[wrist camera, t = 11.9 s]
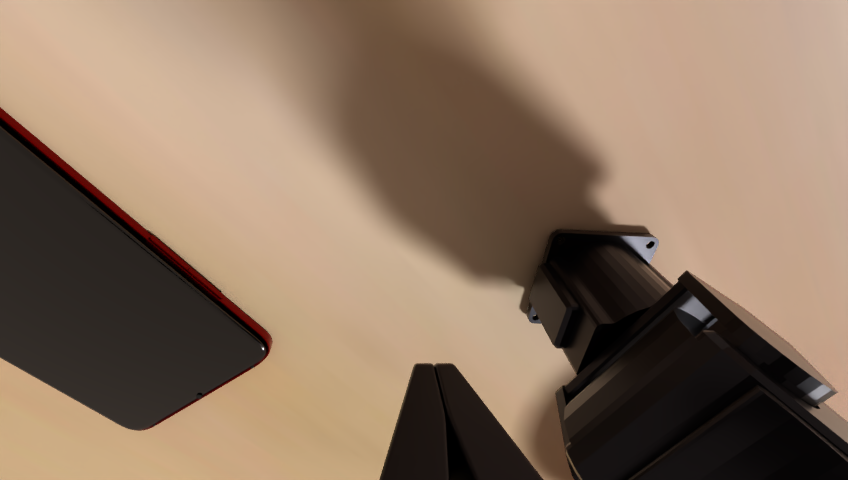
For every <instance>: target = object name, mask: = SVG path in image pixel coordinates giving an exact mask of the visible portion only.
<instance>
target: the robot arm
mask: <svg viewBox="0 0 848 480" xmlns="http://www.w3.org/2000/svg"><path fill="white" fill-rule="evenodd" d="M559 237H562V239H561V240H560V241H557V239H558V238H559ZM648 242H650V243H649V244H647V243H648ZM646 244H647V245H646ZM658 244H659V241H658V239H657V238H656V237H654V236H653V235H651V234H640V233H620V232H601V231H581V230H562V229H560V230H556V231H554V232H553V233H552V234H551V235H550V238H549V241H548V244H547V247H546V251H545V254H544V257H543V261H542V263H541V264H540V265H539V266H538V269H537V273H536V276H535V279H534V283H533V286H532V289H531V293H530V296H529V301H530V304H529V307H528V310H527V317H528V319H529V321H530V322H531V323H542V325H543V327H544V329H545V331H546V332H547V334H548V336H549V338H550V340H551V342H552V344H553V345H554V346H555V347H556V348H562V349H563V351H564V353H565V355H566V356H567V358H568V360H569V362H570V364H571V365H572V367H573V369H574V371H575V373H576V374H577V376H576V377H574V378H573V379H572V380H571V381H570V382H569V383H568V384H567V385H566V386H562V387H561V388H560V389H559V390H557V391H556V393H555V394H556V399H557V405H558V411H559V417H560V422H561V428H562V434H563V440H564V445H565V451H566V457H567V460H568V464H569V467H570V469H571V473H572V476H573V478H574V479H575V480H848V422H847V421H846V420H845V419H843V418H842V417H841V416H840V415H839V414H837V413H836V412H835V411H834V410H832V409H831V408H830V407H829V406H828V405H826V404H825V403H824V401H825V400H827V399H828V398H830V397H831V396H833V395H834V394H836V393H837V390H836V389H835V388H834V387H833V386H832V385H831V384H830V383H829V382H828V381H827V380H826V379H825V378H824V377H823V376H822V375H821V374H820V373H819V372H818V371H817V370H816V369H815V368H814V367H813V366H812V365H811V364H810V363H809V362H808V361H807V360H806V359H805V358H804V357H803V356H802V355H801V354H800V353H799V352H798V351H797V350H796V349H795V348H794V347H793V346H792V345H791V344H789V343H788V342H787V341H786V340H784V339H783V338H782V337H780V336H779V335H778V334H777V333H775V332H774V331H773V330H771V329H770V328H769V327H768V326H766V325H765V324H764V323H762V322H761V321H760V320H759V319H757V318H756V317H755V316H753V315H752V314H751V313H749V312H748V311H747V310H746V309H744V308H743V307H741V306H740V305H738V304H737V303H735V302H734V301H732V300H731V299H729V298H728V297H726V296H725V295H723V294H722V293H720V292H719V291H717V290H716V289H714V288H713V287H711V286H710V285H708V284H707V283H705V282H704V281H702V280H701V279H699V278H698V277H696V276H695V275H693V274H692V273H690V272H689V271H685V272H684V273H683V274H682V275H681V276H680V277H679V278H678V280H679V281H678V282H677V283H676V284H675V285H674V286H673V285H672V284H671V283H670V282H669V281H668V280H667V279H666V278H665V277H664V276H662V275H661V274H660V273H659V272H658V271H657V270H656V269H655V268H654V267H653V266H651V265H650V262H651V260H652V258H653V255H654V253H655V251H656V249H657V247H658ZM535 314H537V315H536V316H534V315H535ZM380 480H543V479H542V478H541V476H540V475H539V474H538V472H537V471H536V470H535V468H534V467H533V466H532V465H531V463H530V462H529V461H528V459H527V458H526V457H525V456H524V454H523V453H522V452H521V450H520V449H519V448H518V446H517V445H516V444H515V443H514V441H513V440H512V439H511V437H510V436H509V435H508V434H507V432H506V431H505V430H504V428H503V427H502V426H501V425H500V423H499V422H498V421H497V419H496V418H495V417H494V415H493V414H492V413H491V412H490V410H489V409H488V408H487V406H486V405H485V404H484V403H483V401H482V400H481V399H480V397H479V396H478V395H477V394H476V392H475V391H474V390H473V388H472V387H471V386H470V384H469V383H468V382H467V381H466V379H465V378H464V377H463V375H462V374H461V373H460V372H459V370H458V369H457V368H456V366H455V365H453V364H451V363H437V364H435V365H434V366H433V364H431V363H417V364H415V365H414V367H413V370H412V373H411V377H410V380H409V383H408V387H407V390H406V393H405V397H404V400H403V403H402V407H401V410H400V413H399V417H398V420H397V423H396V427H395V430H394V433H393V437H392V440H391V443H390V447H389V450H388V453H387V457H386V460H385V463H384V466H383V470H382V473H381V476H380Z"/></svg>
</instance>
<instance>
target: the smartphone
mask: <svg viewBox="0 0 848 480" xmlns="http://www.w3.org/2000/svg"><path fill="white" fill-rule="evenodd" d="M271 346H272V338H271V336H270V335H269V333H268V332H267V331H265V330H264V329H263V328H262V327H261V326H259V325H258V324H257V323H256V322H255V321H254V320H252V319H251V318H250V317H249V316H248V315H246V314H245V313H244V312H243V311H242V310H240V309H239V308H238V307H237V306H236V305H235V304H233V303H232V302H231V301H230V300H229V299H227V298H226V297H225V296H224V295H223V294H222V293H221V292H220V291H219V290H217V289H216V288H215V287H214V286H213V285H211V284H210V283H209V282H208V281H207V280H206V279H204V278H203V277H202V276H201V275H200V274H198V273H197V272H196V271H195V270H194V269H193V268H191V267H190V266H189V265H188V264H187V263H186V262H184V261H183V260H182V259H181V258H180V257H178V256H177V255H176V254H175V253H174V252H173V251H171V250H170V249H169V248H168V247H167V246H166V245H164V244H163V243H162V242H161V241H160V240H158V239H157V238H156V237H155V236H153V235H151V234H150V233H149V232H148V231H147V230H146V229H144V228H143V227H142V226H141V225H140V224H138V223H137V222H136V221H135V220H134V219H133V218H131V217H130V216H129V215H128V214H127V213H125V212H124V211H123V210H122V209H121V208H119V207H118V206H117V205H116V204H115V203H114V202H112V201H111V200H110V199H109V198H108V197H106V196H105V195H104V194H103V193H102V192H101V191H99V190H98V189H97V188H96V187H95V186H93V185H92V184H91V183H90V182H89V181H88V180H86V179H85V178H84V177H83V176H82V175H80V174H79V173H78V172H77V171H76V170H74V169H73V168H72V167H71V166H70V165H68V164H67V163H66V162H65V161H64V160H62V159H61V158H60V157H59V156H58V155H57V154H55V153H54V152H53V151H52V150H51V149H49V148H48V147H47V146H46V145H45V144H43V143H42V142H41V141H40V140H39V139H37V138H36V137H35V136H34V135H33V134H31V133H30V132H29V131H28V130H27V129H25V128H24V127H23V126H22V125H21V124H19V123H18V122H17V121H16V120H15V119H14V118H12V117H11V116H10V115H9V114H8V113H6V112H5V111H4V110H3V109H2V108H0V358H2V359H3V360H5V361H7V362H9V363H10V364H12V365H14V366H16V367H18V368H19V369H21V370H23V371H25V372H26V373H28V374H30V375H32V376H34V377H35V378H37V379H39V380H41V381H42V382H44V383H46V384H48V385H50V386H51V387H53V388H55V389H57V390H58V391H60V392H62V393H64V394H66V395H67V396H69V397H71V398H73V399H74V400H76V401H78V402H80V403H82V404H83V405H85V406H87V407H89V408H90V409H92V410H94V411H96V412H97V413H99V414H101V415H103V416H105V417H106V418H108V419H110V420H112V421H113V422H115V423H117V424H119V425H121V426H123V427H125V428H128V429H131V430H146V429H149V428H152V427H154V426H155V425H157V424H159V423H161V422H162V421H164V420H166V419H168V418H169V417H171V416H173V415H174V414H176V413H178V412H179V411H181V410H183V409H185V408H186V407H188V406H190V405H191V404H193V403H195V402H196V401H198V400H200V399H201V398H203V397H205V396H207V395H208V394H210V393H212V392H213V391H215V390H217V389H218V388H220V387H222V386H223V385H225V384H227V383H229V382H230V381H232V380H234V379H235V378H237V377H239V376H240V375H242V374H244V373H245V372H247V371H249V370H250V369H252V368H254V367H255V366H257V365H258V364H260V363H261V362H262V361H263V360H264V359H265V358H266V357H267V356H268V354H269V352H270V349H271Z"/></svg>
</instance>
